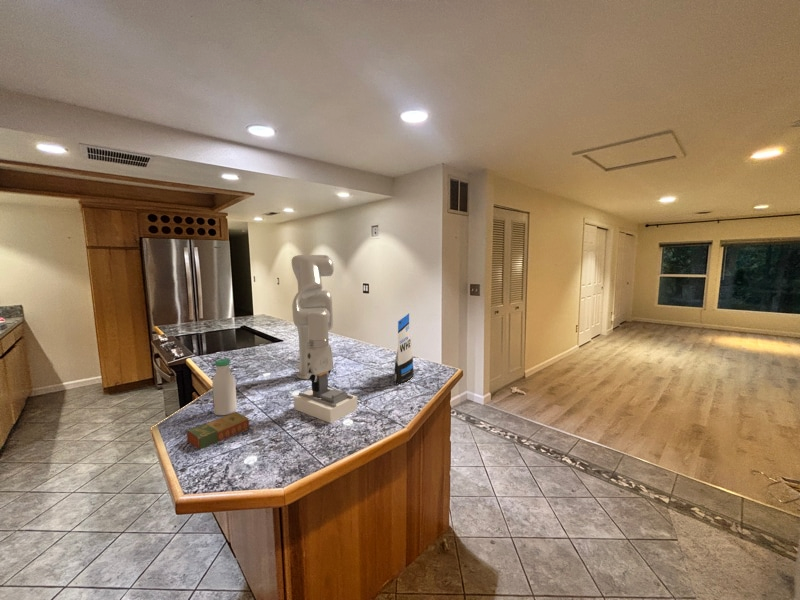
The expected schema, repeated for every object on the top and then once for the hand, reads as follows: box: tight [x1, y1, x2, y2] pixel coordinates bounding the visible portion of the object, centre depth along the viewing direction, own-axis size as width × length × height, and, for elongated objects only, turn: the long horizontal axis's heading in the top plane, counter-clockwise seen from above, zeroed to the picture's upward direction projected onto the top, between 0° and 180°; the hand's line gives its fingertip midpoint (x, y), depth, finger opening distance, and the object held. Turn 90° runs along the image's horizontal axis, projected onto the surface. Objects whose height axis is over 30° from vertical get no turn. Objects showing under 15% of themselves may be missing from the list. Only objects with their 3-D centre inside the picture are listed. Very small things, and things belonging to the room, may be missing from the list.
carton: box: [186, 411, 250, 450], centre depth 108 cm, size 8×16×4 cm, turn 145°
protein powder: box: [393, 313, 415, 386], centre depth 161 cm, size 10×24×30 cm, turn 167°
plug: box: [313, 371, 329, 398], centre depth 127 cm, size 5×5×10 cm
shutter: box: [321, 388, 348, 404], centre depth 123 cm, size 7×7×3 cm
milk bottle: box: [211, 358, 238, 416], centre depth 124 cm, size 8×8×20 cm
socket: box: [293, 387, 358, 424], centre depth 127 cm, size 20×14×6 cm
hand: (320, 388), depth 128 cm, fingers closed on plug, 4 cm apart
